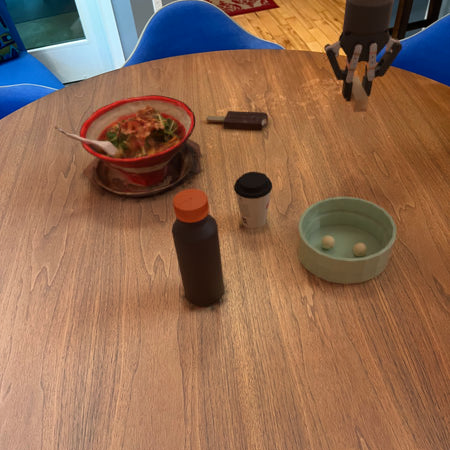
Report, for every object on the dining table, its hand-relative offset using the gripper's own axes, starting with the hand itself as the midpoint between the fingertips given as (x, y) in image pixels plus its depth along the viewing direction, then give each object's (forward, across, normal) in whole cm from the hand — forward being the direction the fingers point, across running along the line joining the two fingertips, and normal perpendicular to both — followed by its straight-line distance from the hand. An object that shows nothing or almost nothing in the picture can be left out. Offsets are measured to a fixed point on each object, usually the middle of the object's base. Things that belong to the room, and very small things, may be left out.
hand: (355, 98), depth 90 cm
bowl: (+15, -5, -25) cm, 30 cm away
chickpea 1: (+15, -8, -24) cm, 29 cm away
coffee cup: (+15, -21, -16) cm, 30 cm away
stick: (0, 0, 0) cm, 0 cm away
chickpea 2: (+15, -3, -27) cm, 31 cm away
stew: (+15, -44, +3) cm, 47 cm away
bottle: (+15, -30, -33) cm, 47 cm away
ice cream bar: (+15, -22, +21) cm, 35 cm away
